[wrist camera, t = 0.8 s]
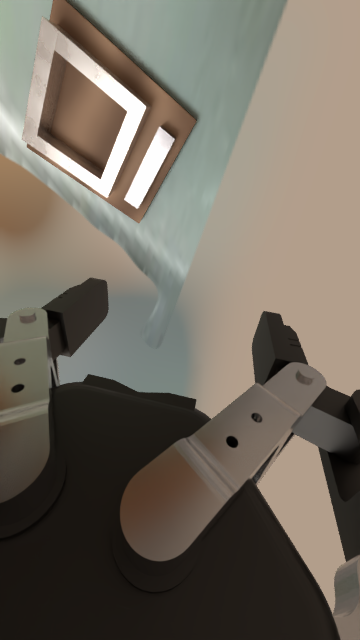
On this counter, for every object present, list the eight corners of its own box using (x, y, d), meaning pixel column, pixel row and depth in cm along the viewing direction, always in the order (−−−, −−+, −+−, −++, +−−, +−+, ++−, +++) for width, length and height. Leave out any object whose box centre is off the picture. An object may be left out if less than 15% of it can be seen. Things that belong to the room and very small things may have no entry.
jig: (33, 145, 31) (12, 150, 28) (62, -3, 23) (37, -22, 19) (141, 219, 36) (134, 231, 33) (196, 120, 28) (195, 122, 25)
